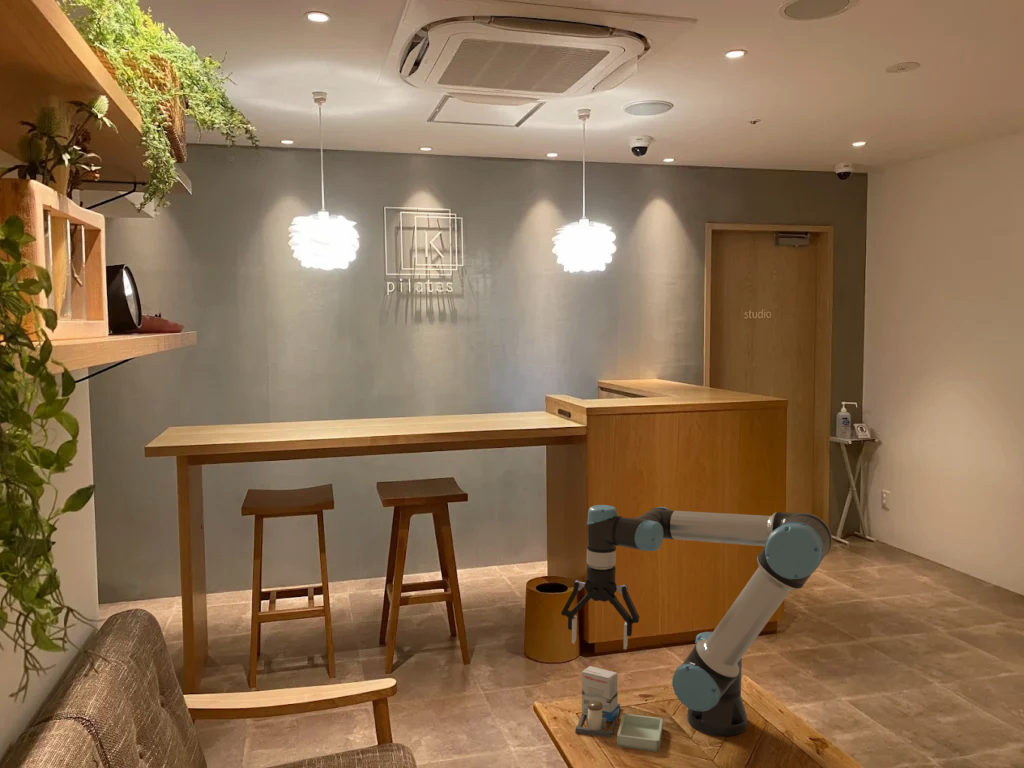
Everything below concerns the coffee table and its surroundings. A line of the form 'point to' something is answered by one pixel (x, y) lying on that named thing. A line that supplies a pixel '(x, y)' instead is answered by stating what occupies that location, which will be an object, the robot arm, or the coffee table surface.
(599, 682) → the ink box
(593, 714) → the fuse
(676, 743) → the coffee table surface
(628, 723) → the tray
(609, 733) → the rail
